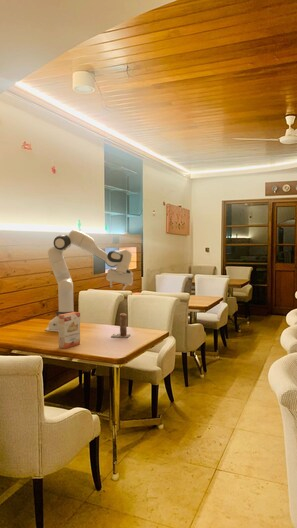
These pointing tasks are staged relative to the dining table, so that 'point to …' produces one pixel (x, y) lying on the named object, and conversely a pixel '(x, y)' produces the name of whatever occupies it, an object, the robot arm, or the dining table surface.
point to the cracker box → (69, 329)
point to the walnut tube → (123, 325)
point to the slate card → (120, 336)
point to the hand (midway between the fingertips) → (116, 288)
